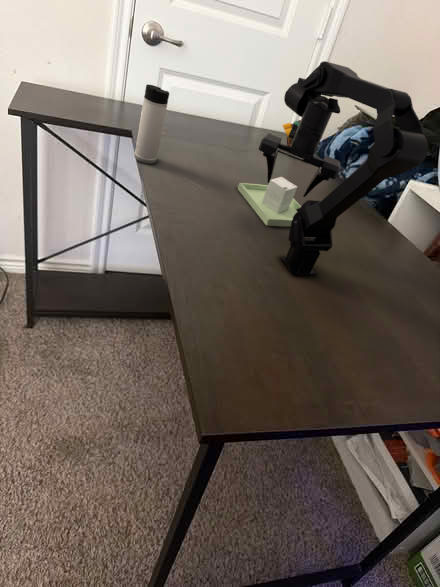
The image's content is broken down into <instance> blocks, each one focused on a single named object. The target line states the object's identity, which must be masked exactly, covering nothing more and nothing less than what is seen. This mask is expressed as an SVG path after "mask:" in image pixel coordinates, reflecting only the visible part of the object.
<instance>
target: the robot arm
mask: <svg viewBox="0 0 440 587" xmlns="http://www.w3.org/2000/svg"><path fill="white" fill-rule="evenodd" d="M328 97H329V98H328ZM333 97H336V98H333ZM283 98H284V99H283V100H284V104H285V106H286V107H287V108H289V110H291V111H292V112H294V114H296V115H297V116H298V117H300V118H301V119H300V120H301V121H300V124H299V126H298V125H296V124H293V123H292V124H293V126H292V128H291V131H290V133H289V136H288V137H289V138H291V139H293V141H292V144H291V146H290V147H289V146H287V144H284V143H282V137H279V136H277V135H274V134H271V133H266V134H264V136H263V137H262V139H261V142H260V144H259V148H258V150H259V152H262V156H263V157H265V158H266V159H265V160H266V165H267V166H266V167H267V183H268V184H269V182H270V180H272V178H273V173H274V169H275V165H276V161H277V157H278V154H279V153H280V154H283V155H286V156H288V157H290V158H293V159H296V160H299V161H301V162H303V163H306V164H309V165H311V166H314V167H316V168H317V170H316V172H315V173H314V175H313V177H312V178H311V180H310V182H309V184H308V185H307V187H306V189H305V190H304V192H303V195H302V197H303V198H305V197H307V195H308V194H310V193H311V191H313V190H314V189H315V187H316V186H318V185H319V184H321V183H322V182H323V181H327V182H328V181H329V180H330V179H331V180H336V179H337V177H338V175H339V173H340V170H341V162H340V160H339V159H335V158H333V157H331V156H328V155H325V156H324V158H320V157H317V156H315V154H316V152H317V150H318V147H319V145H320V143H321V141H322V138H323V136H324V134H325V131H326V128H327V126H328V124H329V122H330V120H331V117H332V114H336V115H337V114H338V115H339V114H340V113H341V107H340V106H339V100H338V99H337V98H345V99H350V100H352V101H355V102H357V103H359V104H362V105H365V106H367V107H370V108H372V109H375V110H376V118H375V122H374V125H373V130H372V132H373V137H374V142H373V144H372V145H371V146H370V147H369V149H368V154H367V157H366V160H365V162H363V163H362V164H361V165H359V167H358V168H357V169H355V171H353V172H352V173H351V174H350V175H349V176H347V177H346V178H345V179H344V180H343V181H342V182H341V183H340V184H338V186H336V187H335V188H334V189H333V190H332V191H331V192H329V194H327V195H326V196H325V197H324V198H323V199H322V200H313V199H308V200H305V201H304V202H303V204H302V205H300V206H301V207H300V208H299V209H296V211H297V213H296V214H295V215H294V217H293V219H292V223H291V226H290V229H289V233H288V241H289V242H290V244H289V245H290V247H289V249H288V251H287V253H286V256H281V257H280V260H281V262H282V263H283V264H284V266H285V267H286V269H287V270H288V271H289V272H290V273H291V275H293V276H314V275H316V271H314V269H313V268H314V267H315V265H316V263H317V261H318V259H319V257H320V255H321V252H329V250H331V249H332V248H333V236H332V231H333V229H334V228H335V227H336V223H337V219H338V217H340V216H341V215H343V213H345V212H346V211H347V210H348V209H350V208H351V207H352V206H354V205H355V204H356V203H357V202H358V201H360V200H361V199H362V198H363V197H365V196H366V195H367V194H369V193H370V192H371V191H373V190H374V189H375V188H376V187H378V186H379V185H380V184H381V183H383V182H384V181H385V180H387V179H389V178H393V177H396V176H399V175H401V174H404V173H408V171H410V170H412V169H414V168H416V167H417V166H419V165H420V164H422V163H423V162H424V161H425V160H426V158H427V152H428V147H429V143H428V139H427V138H426V136H425V132H424V131H425V130H424V125H423V124H422V122H421V120H420V119H419V116H418V115H417V113H416V111H415V109H414V106H413V101H412V98H411V95H410V94H409V93H408V92H405V91H402V90H398V89H394V88H389V87H386V86H384V85H380V84H377V83H375V82H373V81H368V80H366V79H362V78H361V77H359V75H358V73H356V71H354V70H352V69H351V68H350V67H348V66H345V65H341V64H337V63H333V62H329V61H326V60H325V61H321V62H320V63H319V65H318V66H317V67H315V69H314V70H313V71H312V72H311V73H310V74H309V75H308V76H307V77H306V78H303V77H299V78H298V79H297V82H296V83H293V84H291V85H290V86H289V87H288V88H287V90H286V91H285V93H284V97H283ZM393 116H394V120H395V123H396V124H397V126H398V127H399V129H398V128H394V126H393V121H392V119H393Z"/></svg>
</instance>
